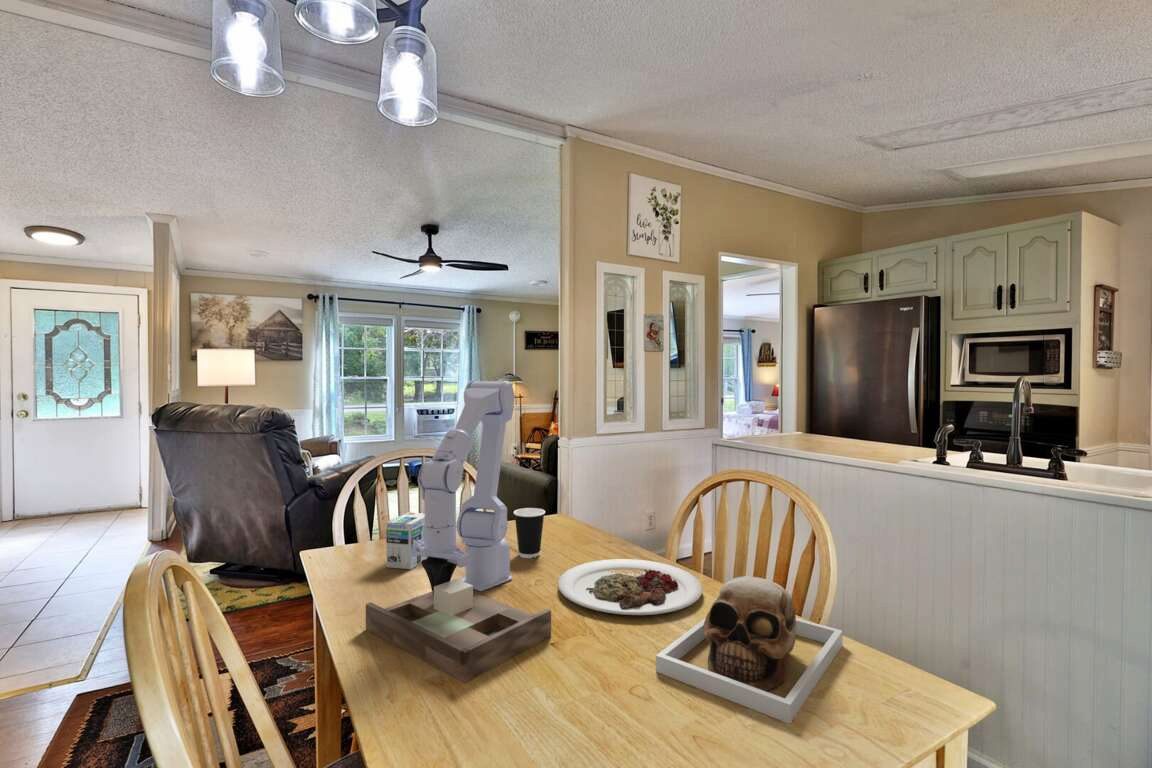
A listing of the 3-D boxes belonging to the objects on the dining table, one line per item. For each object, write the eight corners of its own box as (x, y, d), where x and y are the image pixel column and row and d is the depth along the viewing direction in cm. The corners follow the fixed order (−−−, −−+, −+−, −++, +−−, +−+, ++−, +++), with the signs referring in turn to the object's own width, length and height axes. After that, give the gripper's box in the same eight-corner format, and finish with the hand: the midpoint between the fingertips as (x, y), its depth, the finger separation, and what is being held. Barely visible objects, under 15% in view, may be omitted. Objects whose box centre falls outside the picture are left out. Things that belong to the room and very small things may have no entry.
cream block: (455, 600, 104) (455, 579, 104) (473, 607, 101) (473, 585, 101) (433, 608, 100) (433, 586, 100) (450, 616, 97) (451, 593, 97)
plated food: (528, 592, 115) (528, 576, 115) (617, 558, 137) (617, 544, 137) (645, 639, 95) (645, 619, 95) (728, 590, 117) (728, 574, 117)
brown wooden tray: (451, 596, 112) (451, 574, 112) (551, 635, 95) (551, 610, 95) (365, 629, 97) (365, 604, 97) (464, 683, 80) (464, 652, 80)
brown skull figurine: (721, 697, 77) (722, 596, 78) (685, 649, 94) (686, 566, 96) (832, 696, 78) (830, 597, 79) (775, 648, 96) (775, 568, 97)
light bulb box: (411, 570, 127) (411, 523, 127) (385, 568, 129) (385, 522, 128) (432, 555, 138) (432, 512, 138) (407, 553, 139) (407, 511, 139)
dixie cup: (507, 554, 139) (507, 510, 139) (534, 548, 144) (534, 506, 144) (524, 562, 133) (524, 517, 133) (551, 556, 138) (551, 512, 137)
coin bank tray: (728, 612, 105) (728, 599, 105) (842, 645, 92) (842, 630, 92) (655, 671, 84) (656, 655, 84) (790, 724, 71) (790, 704, 71)
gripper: (399, 522, 104) (399, 593, 105) (447, 536, 95) (447, 614, 95) (430, 515, 110) (430, 582, 110) (478, 527, 101) (478, 601, 101)
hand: (440, 596), depth 103 cm, fingers closed
